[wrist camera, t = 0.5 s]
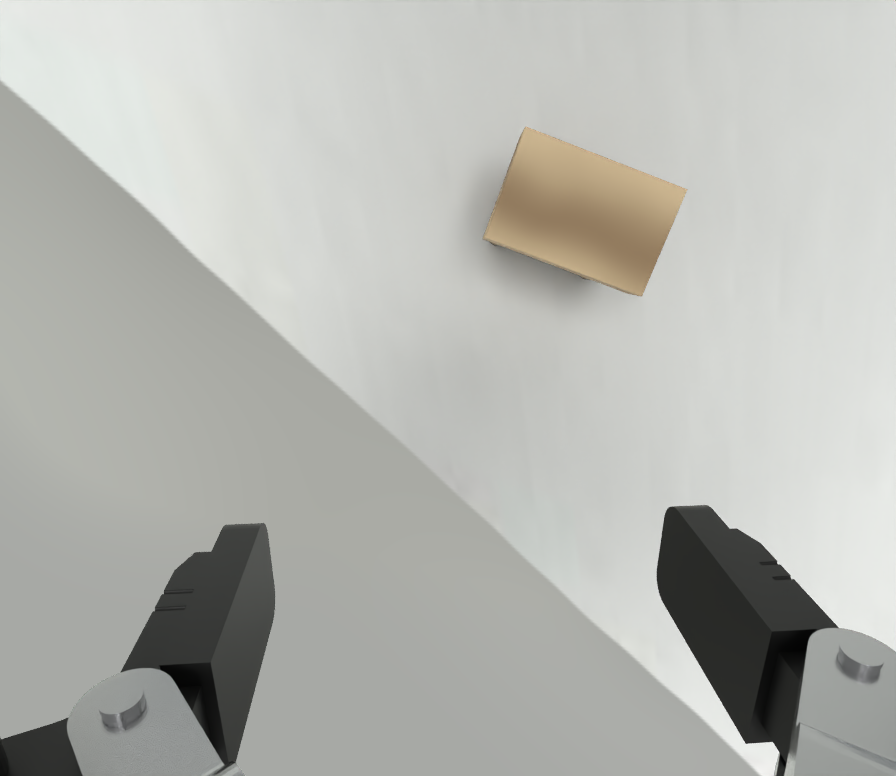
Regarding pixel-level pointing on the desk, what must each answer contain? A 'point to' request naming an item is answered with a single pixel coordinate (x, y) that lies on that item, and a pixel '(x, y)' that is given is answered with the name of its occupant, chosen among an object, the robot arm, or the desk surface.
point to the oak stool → (583, 212)
